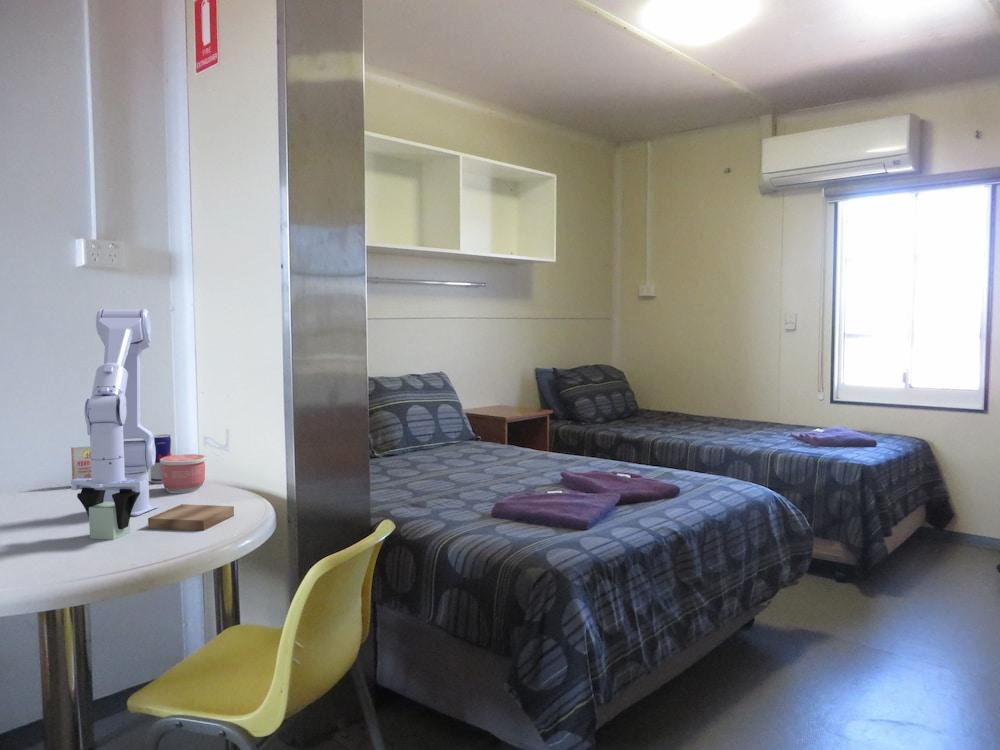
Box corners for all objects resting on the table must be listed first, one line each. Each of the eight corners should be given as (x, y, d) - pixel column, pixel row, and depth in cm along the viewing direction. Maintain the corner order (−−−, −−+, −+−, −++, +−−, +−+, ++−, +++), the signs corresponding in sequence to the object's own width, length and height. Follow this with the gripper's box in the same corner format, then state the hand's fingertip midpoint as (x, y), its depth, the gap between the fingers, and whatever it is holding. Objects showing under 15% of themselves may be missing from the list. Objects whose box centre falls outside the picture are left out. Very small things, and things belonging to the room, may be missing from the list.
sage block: (89, 538, 146) (88, 507, 145) (107, 531, 151) (106, 501, 150) (113, 539, 145) (112, 508, 145) (130, 532, 150) (129, 502, 150)
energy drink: (164, 484, 195) (163, 437, 194) (146, 483, 196) (144, 437, 195) (177, 480, 200) (176, 434, 200) (159, 479, 201) (158, 434, 201)
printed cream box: (72, 485, 194) (71, 446, 193) (102, 482, 197) (101, 444, 196) (72, 488, 191) (71, 448, 190) (103, 485, 194) (101, 446, 193)
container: (196, 494, 183) (195, 461, 183) (153, 494, 184) (151, 461, 183) (213, 485, 194) (212, 454, 193) (172, 485, 194) (171, 454, 193)
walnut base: (148, 528, 153) (147, 518, 153) (182, 513, 165) (181, 504, 165) (203, 530, 151) (203, 520, 151) (234, 515, 163) (233, 506, 163)
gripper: (58, 460, 144) (61, 531, 145) (128, 462, 142) (131, 534, 143) (84, 454, 151) (87, 521, 152) (151, 455, 149) (154, 524, 150)
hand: (110, 527), depth 148 cm, fingers closed on sage block, 5 cm apart
